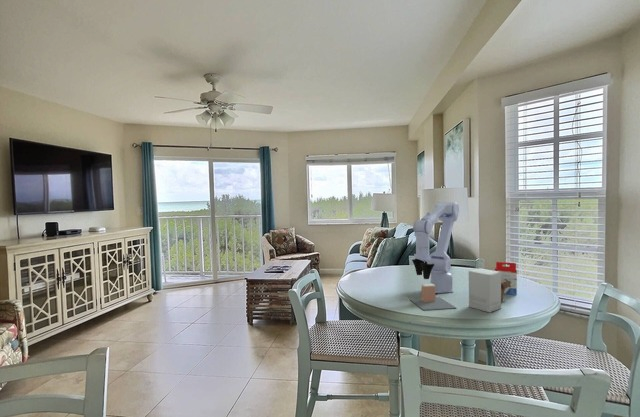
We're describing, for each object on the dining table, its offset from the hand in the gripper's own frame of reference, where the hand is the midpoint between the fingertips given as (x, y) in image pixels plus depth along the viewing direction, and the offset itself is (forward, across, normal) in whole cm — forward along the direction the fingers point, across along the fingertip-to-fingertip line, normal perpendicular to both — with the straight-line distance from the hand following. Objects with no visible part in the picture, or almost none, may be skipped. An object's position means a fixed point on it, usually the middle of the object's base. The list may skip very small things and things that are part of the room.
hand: (422, 276), depth 143 cm
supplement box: (+10, +16, +19) cm, 27 cm away
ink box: (+10, -1, +41) cm, 42 cm away
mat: (+9, +9, 0) cm, 13 cm away
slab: (+9, +6, 0) cm, 11 cm away
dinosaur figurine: (+10, +9, +29) cm, 32 cm away
